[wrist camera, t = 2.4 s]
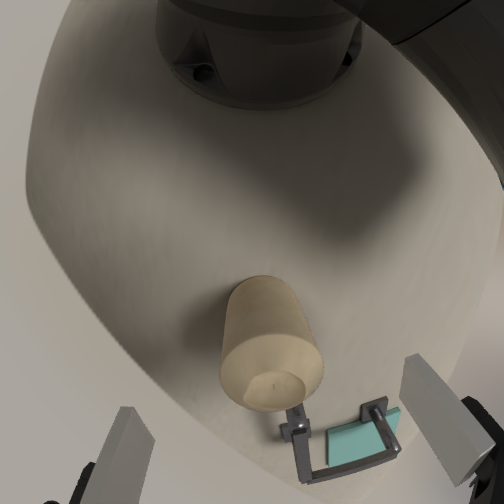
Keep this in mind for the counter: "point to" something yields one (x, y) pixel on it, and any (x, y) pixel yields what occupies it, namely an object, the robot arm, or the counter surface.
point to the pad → (357, 440)
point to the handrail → (299, 434)
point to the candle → (268, 348)
